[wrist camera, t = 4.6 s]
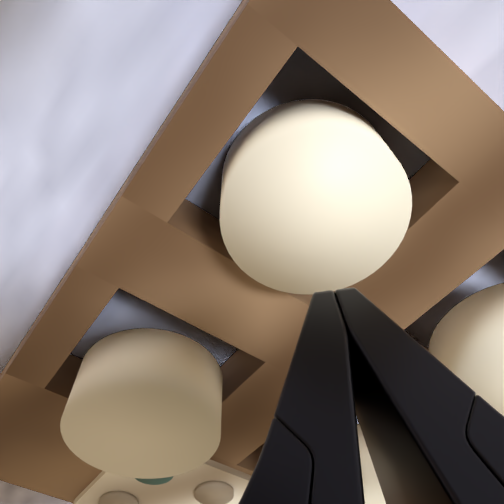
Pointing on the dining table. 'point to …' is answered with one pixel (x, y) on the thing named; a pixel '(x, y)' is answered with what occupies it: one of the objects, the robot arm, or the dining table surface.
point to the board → (221, 263)
